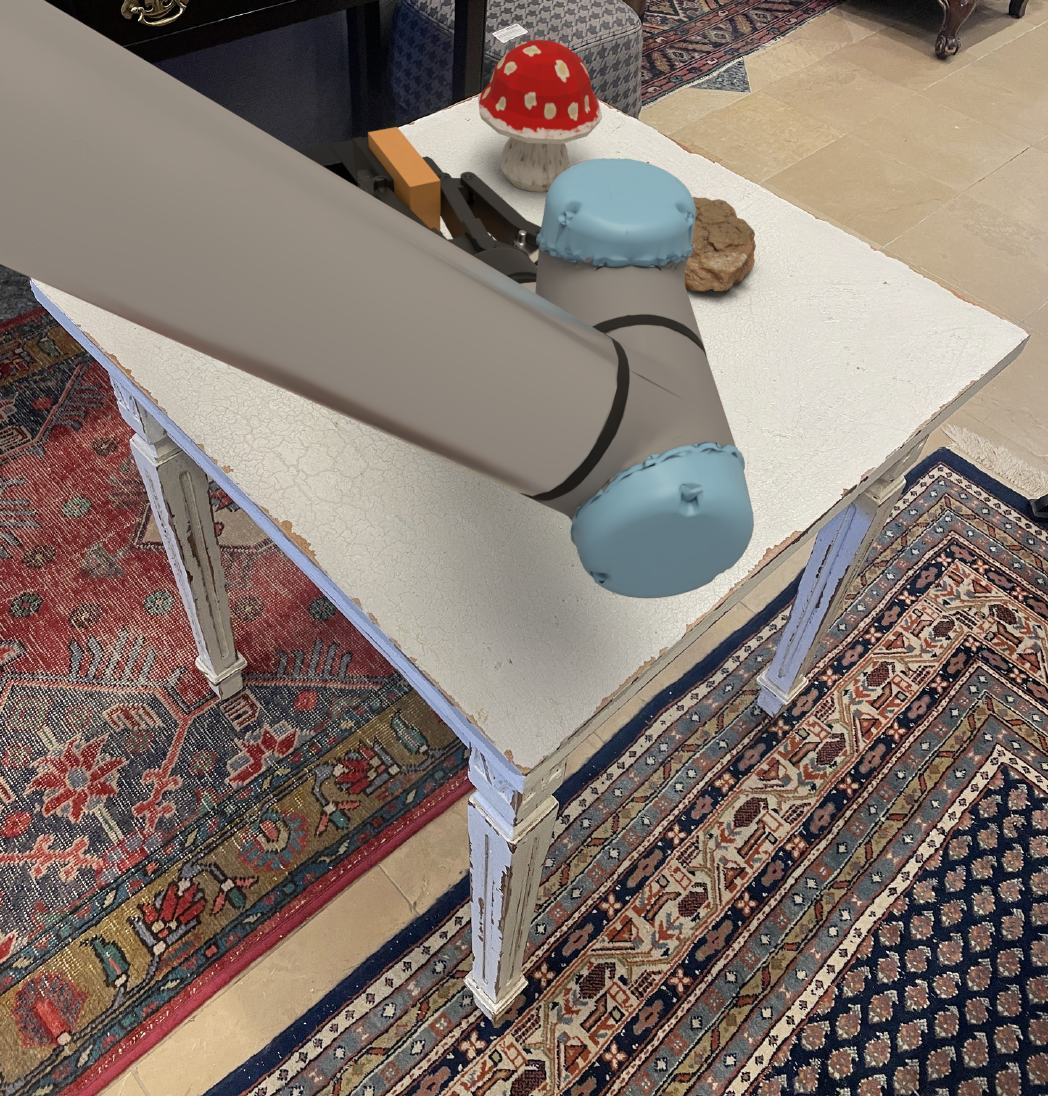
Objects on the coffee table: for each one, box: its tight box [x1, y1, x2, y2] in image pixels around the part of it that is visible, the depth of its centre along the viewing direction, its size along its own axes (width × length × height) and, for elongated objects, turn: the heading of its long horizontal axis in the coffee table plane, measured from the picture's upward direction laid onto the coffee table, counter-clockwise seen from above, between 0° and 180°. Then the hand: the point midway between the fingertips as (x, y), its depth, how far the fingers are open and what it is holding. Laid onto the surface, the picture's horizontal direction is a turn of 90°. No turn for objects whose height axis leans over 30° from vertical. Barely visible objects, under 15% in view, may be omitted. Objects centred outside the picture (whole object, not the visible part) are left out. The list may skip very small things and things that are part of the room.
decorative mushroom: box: [477, 39, 603, 192], centre depth 106 cm, size 14×14×15 cm
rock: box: [685, 196, 757, 292], centre depth 101 cm, size 13×11×5 cm
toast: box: [367, 126, 441, 231], centre depth 74 cm, size 2×8×8 cm, turn 28°
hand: (376, 150), depth 76 cm, fingers closed on toast, 2 cm apart
